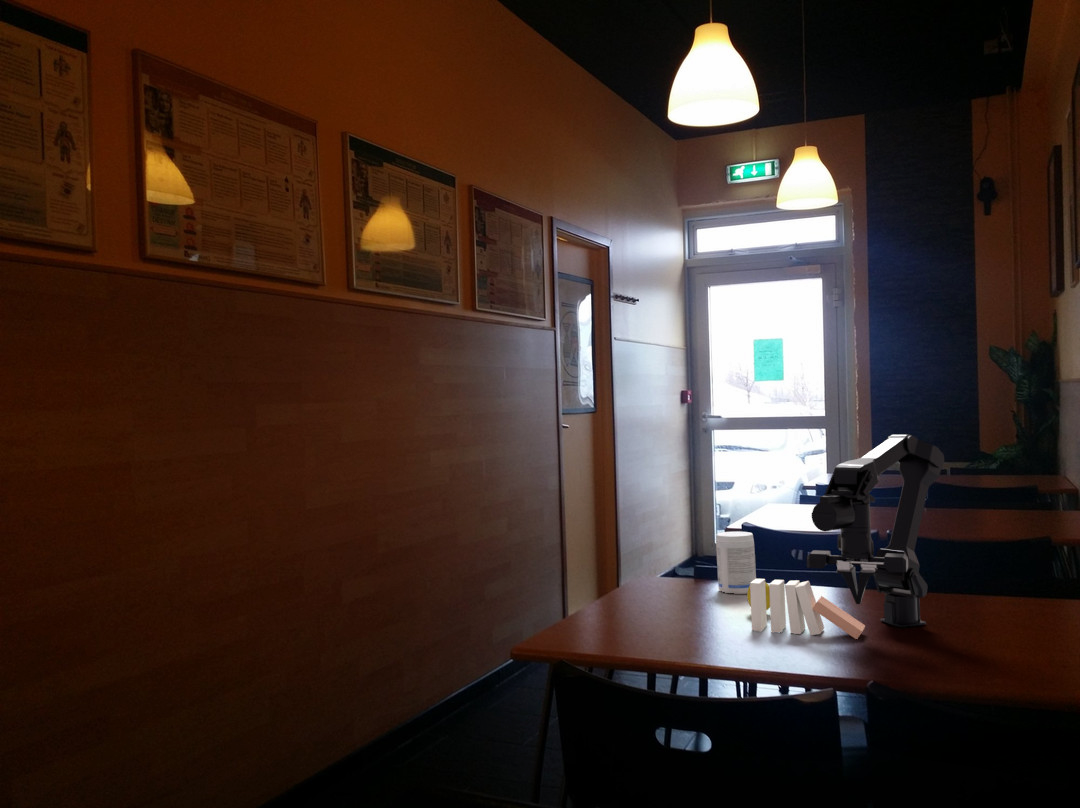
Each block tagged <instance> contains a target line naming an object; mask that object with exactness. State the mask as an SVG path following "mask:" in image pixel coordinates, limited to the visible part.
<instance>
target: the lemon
mask: <svg viewBox="0 0 1080 808" xmlns="http://www.w3.org/2000/svg"><path fill="white" fill-rule="evenodd" d="M765 588H766V611H768V610H770V589H769V583H767V582H766V581H765ZM746 595H747V603H748V604H749V607H750V608H751V595H750V586H749V588H748V593H747V594H746Z"/></svg>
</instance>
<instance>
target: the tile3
mask: <svg viewBox="0 0 1080 808" xmlns="http://www.w3.org/2000/svg"><path fill="white" fill-rule="evenodd" d="M799 583H801V582H800V580H797V579H796V580H789V581H788V582H787V583H785V584H784V588H785V600H786V605H787V614H788V621H789V622H788V623H789V628H790V634H791V633H794V634H793V635H801V634H802V633H803V632H804V631H805V629H806V620H805V617H804V614H803V611H802V608H801V605H800V601H799V598H798V595H797V592H796V589H795V587H796V586H797V585H798V584H799Z"/></svg>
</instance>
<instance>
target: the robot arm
mask: <svg viewBox="0 0 1080 808" xmlns="http://www.w3.org/2000/svg"><path fill="white" fill-rule="evenodd" d="M896 463H898V464H899V467H898V470H899V473H900V475H901V477H902V480H903V484H902V488H901V494H900V498H899V502H898V505H897V506H898V507H897V511H896V514H895V519H894V525H893V528H892V532H891V537H890V540H889V544H888V546H886V547H885V548H879V549H878V550H877V552H876V556H874V541H873V539H872V527H871V525H872V523H871V503H875V502H876V498H875V497H874V496H873V495H871V494H870V492H872V491H873V489H874V488H875V487H876V486H877V484H878V483H879V482H880V480H879V476H880V475H881V474H882V473H884V472H885V471H886V470H888V469H889V468H890V467H892V466H893V465H895V464H896ZM944 463H945V456H944V453H943V452H942V451H941V450H940V448H939V447H937V445H936V446H935V445H933V444H931V443H929V442H925V441H923V440H920V439H918V438H917V437H916V436H913V435H911V434H900V433H899V434H891V435H889V436H888V437H887V438H886V440H884V441H883V442H882V443H880V444H879V445H877V446H876V447H875V448H873V449H871V450H870V451H868V452H867V453H866V454H865V455H863V456H862V457H859V458H856V459H851V460H846V461H844V462H841V463H839V464H837V465H836V466H835V468H834V469H833V472H832V474H831V477H830V479H829V482H828V485H827V487H826V489H825V492H824V494H823V495H822V496H821V495H820V496H819V502H818V503H817V504H815V505H814V507H813V509H812V512H811V520H812V523H813V524H814V527H816V528H817V529H818V530H819V531H822V532H831V531H836V530H840V533H838V534H837V549H838V550H839V551H841V555H838V554H837V555H835V554H833V555H832V554H831V551H830V550H817V549H815V550H814V549H813V550H812V551H811V552H810V553H808V555H806V556H807V557H806V567H807V568H809V569H823V568H825V567H826V566H827V565H836V567H837V569H836V574H841V575H842V577H843V579H844V580H845V582H846V584H847V586H848V588H849V591H850V593H851V595H852V598H853V600H854V602H855V604H856V605H861V604H862V600H863V597H864V594H865V590H866V587H867V584H868V582H869V580H870V577H871V576H873V578H874V583H875V586H876V591H877V593H880V594H881V593H882V594H884V601H883V616H884V618H880V622H882V623H885V624H889V625H891V626H894V627H898V628H908V627H907V626H910V627H917V625H918V626H922V625H923V626H924V625H927V623H926V621H924V620H921V605H920V603H921V602H920V599H923V598H925V596H927V592H928V589H929V588H928V586H929V585H928V584H927V582H926V581H925V579H924V578H923V577H922V576H921V574H920V563H919V560H918V557H917V555H916V553H915V550H916V544H917V541H918V536H919V530H920V526H921V522H922V517H923V512H924V509H925V504H926V498H927V495H928V490H929V488H930V487H931V486H932V485H933V483H935V482H936V481H937V480H938V478H939V477H940V475H941V471H942V470H943V469H942V468H943V466H944ZM857 566H860V568H861V569H860V570H859V574H858V582H857V576H856V567H857Z"/></svg>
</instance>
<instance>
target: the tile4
mask: <svg viewBox="0 0 1080 808" xmlns="http://www.w3.org/2000/svg"><path fill="white" fill-rule="evenodd" d="M768 585H769V589H770V608H769V611H770V612H769V614H770V632H771V631H772V632H771V633H774V632H781V633H783V631H784V630H785V629H786V628H787V619H786V618H787V617H786V591H785V580H784V579H774V580H772V581H771V582H770V583H768ZM785 627H786V628H785ZM784 628H785V629H784ZM783 629H784V630H783ZM782 630H783V631H782Z"/></svg>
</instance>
